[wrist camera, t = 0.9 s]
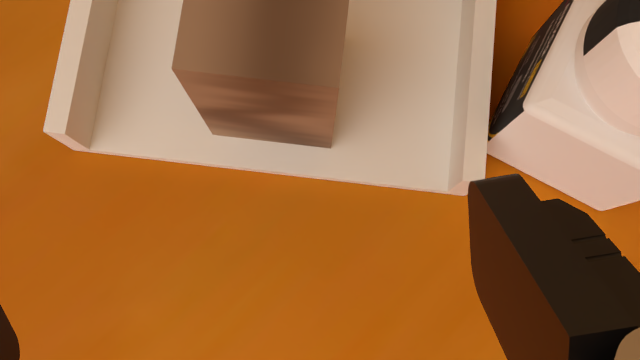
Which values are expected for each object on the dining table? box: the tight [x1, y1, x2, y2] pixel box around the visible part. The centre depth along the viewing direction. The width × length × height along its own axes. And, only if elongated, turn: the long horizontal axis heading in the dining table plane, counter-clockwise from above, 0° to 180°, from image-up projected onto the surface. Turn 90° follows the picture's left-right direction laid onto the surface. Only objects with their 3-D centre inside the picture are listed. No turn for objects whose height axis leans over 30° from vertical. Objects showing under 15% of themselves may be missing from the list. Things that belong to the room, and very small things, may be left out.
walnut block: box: [171, 0, 349, 149], centre depth 26 cm, size 6×6×9 cm
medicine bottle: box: [487, 0, 640, 211], centre depth 25 cm, size 7×7×12 cm
